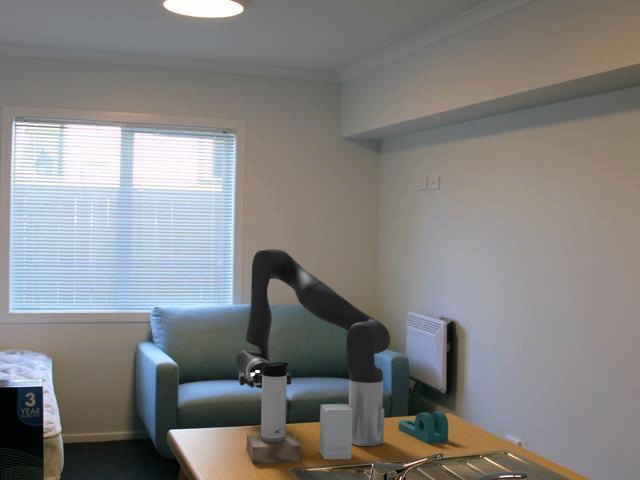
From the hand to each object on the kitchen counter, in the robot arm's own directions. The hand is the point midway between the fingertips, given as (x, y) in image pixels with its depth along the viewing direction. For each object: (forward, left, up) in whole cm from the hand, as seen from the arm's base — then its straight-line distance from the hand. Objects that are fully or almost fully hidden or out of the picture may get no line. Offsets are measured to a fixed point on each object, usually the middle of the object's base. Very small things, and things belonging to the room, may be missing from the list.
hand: (268, 383), depth 203 cm
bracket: (-45, -5, -17) cm, 49 cm away
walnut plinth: (0, +10, -16) cm, 19 cm away
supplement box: (-16, +12, -17) cm, 26 cm away
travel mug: (0, +10, -13) cm, 16 cm away
